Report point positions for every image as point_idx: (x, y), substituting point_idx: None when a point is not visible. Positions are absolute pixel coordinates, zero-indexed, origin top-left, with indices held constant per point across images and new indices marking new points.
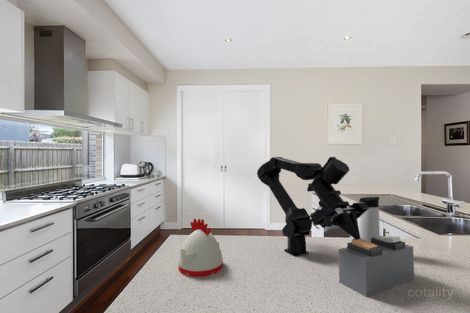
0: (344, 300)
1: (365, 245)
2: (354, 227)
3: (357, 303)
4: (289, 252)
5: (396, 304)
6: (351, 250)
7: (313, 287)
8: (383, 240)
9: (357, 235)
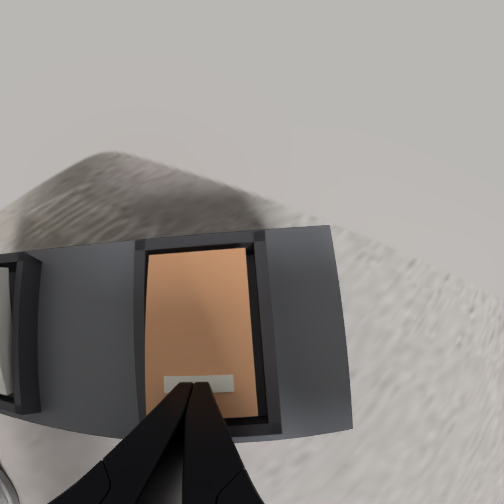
0: (384, 288)
1: (239, 285)
2: (195, 449)
3: (358, 260)
4: None
5: (245, 211)
6: (291, 376)
7: (422, 392)
8: (6, 335)
9: (205, 394)
